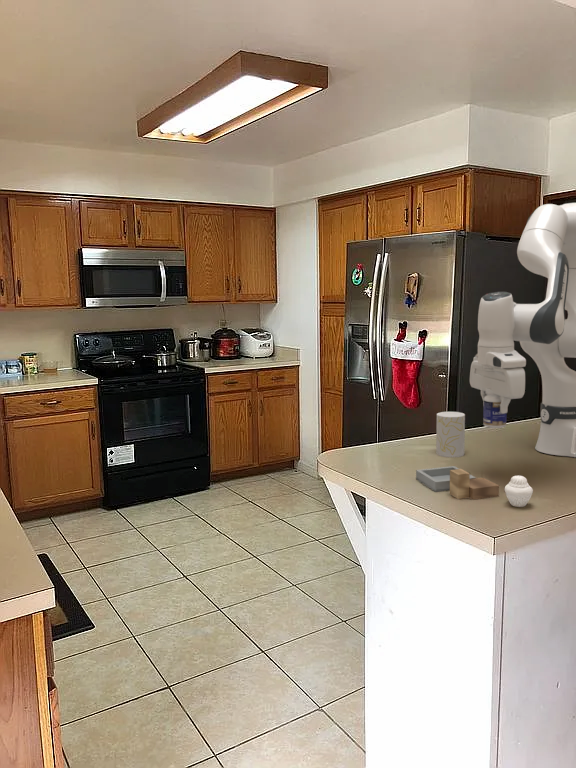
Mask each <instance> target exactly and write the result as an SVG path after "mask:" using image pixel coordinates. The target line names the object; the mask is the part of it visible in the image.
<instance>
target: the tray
mask: <svg viewBox="0 0 576 768" xmlns="http://www.w3.org/2000/svg"><path fill="white" fill-rule="evenodd" d="M455 469H460V468H458V467H457V466H455V465H451V466H443V467H441V466H440V467H433V468H422V469H421V468H420V469H416V470H415V479H416V481H418V482H419V483H421V484H422V485H425V486H426V487H428V488H429V489H431V490H432V491H433V492H435V493H437V492H439V493H440V492H446V491H450V470H455ZM474 478H477V477H476V476H474V475H472V474H470V479H474Z"/></svg>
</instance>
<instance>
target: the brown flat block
mask: <svg viewBox="0 0 576 768" xmlns="http://www.w3.org/2000/svg"><path fill="white" fill-rule="evenodd" d="M496 497H500V485H499V484H497V483H495V482H493V481H491V480H488V479H486V478H484V477H476V478H474V479H470V483H469V498H468V499H470V500H471V501H472V500H473V501H474V500H481V499H489V498H496Z"/></svg>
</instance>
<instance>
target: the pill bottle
mask: <svg viewBox="0 0 576 768" xmlns="http://www.w3.org/2000/svg"><path fill="white" fill-rule="evenodd" d="M486 393H487V396H485V397H484V406H483V415H482V416H483V417H482V419H483V420H482V422H483V426H485V427H486V428H491V429H500V428H501V429H502V428H505V427H506V426H507V414H508V412H507V413H500V412H498V406H500V404H501V401H502V400H500V396H499V395H496V394H493V392H492V389H488V388H486Z"/></svg>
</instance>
